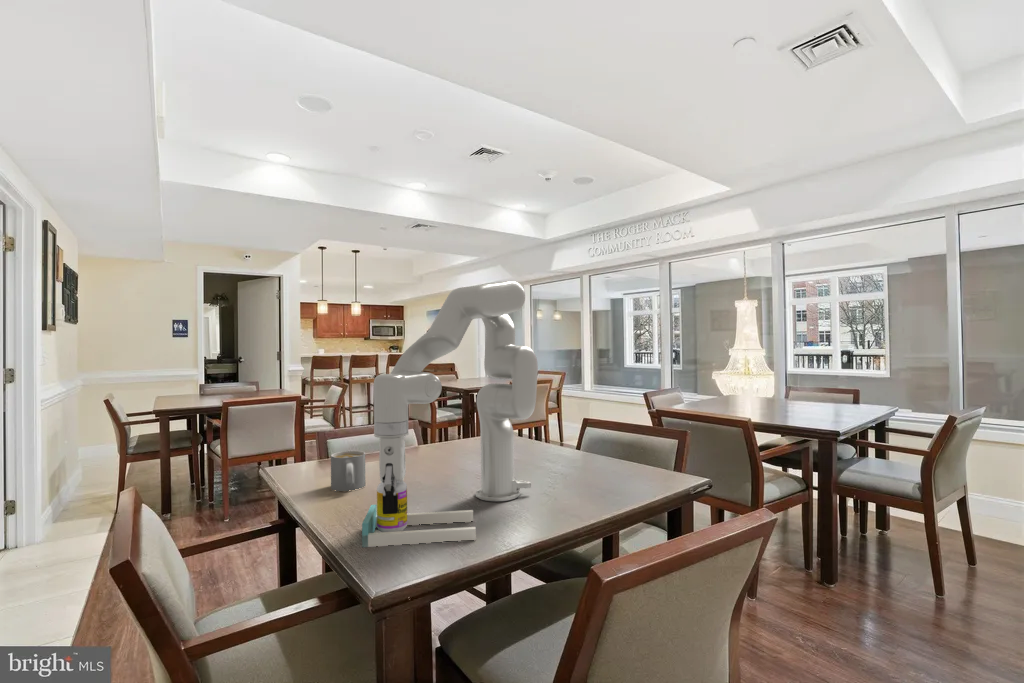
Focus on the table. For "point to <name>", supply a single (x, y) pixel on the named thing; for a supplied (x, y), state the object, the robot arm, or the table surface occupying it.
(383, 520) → the supplement bottle
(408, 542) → the guide track
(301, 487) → the table surface
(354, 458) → the coffee mug
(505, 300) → the robot arm
